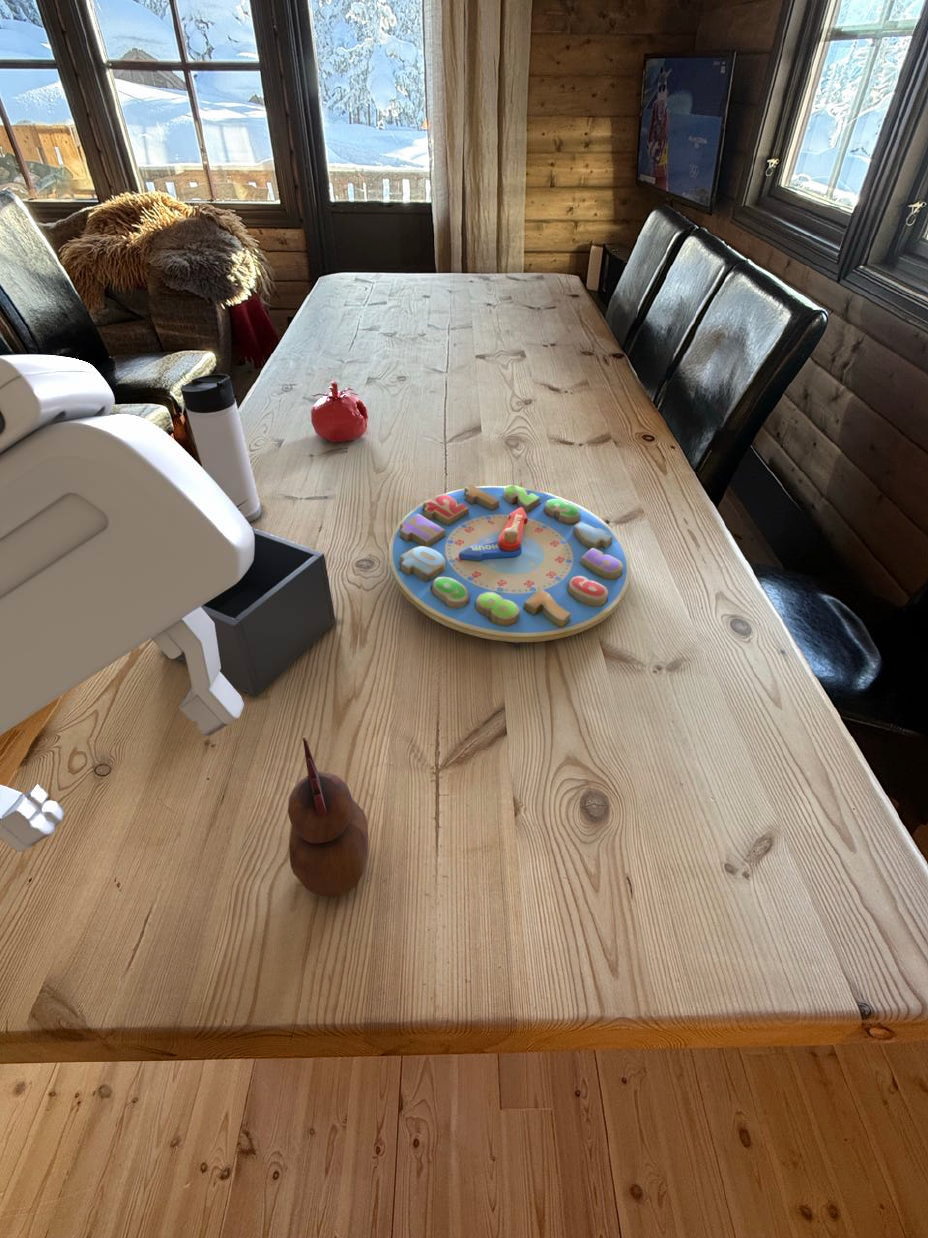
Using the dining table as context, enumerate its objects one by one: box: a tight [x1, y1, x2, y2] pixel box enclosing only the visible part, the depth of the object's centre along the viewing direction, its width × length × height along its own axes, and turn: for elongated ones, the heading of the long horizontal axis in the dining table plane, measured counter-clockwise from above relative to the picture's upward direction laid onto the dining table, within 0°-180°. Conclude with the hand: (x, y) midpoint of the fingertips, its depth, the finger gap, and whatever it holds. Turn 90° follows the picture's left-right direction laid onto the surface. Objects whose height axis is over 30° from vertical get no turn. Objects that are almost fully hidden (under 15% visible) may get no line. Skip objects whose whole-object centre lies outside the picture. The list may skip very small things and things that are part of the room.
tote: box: [175, 526, 337, 698], centre depth 72 cm, size 14×14×10 cm
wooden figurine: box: [287, 737, 369, 898], centre depth 49 cm, size 7×6×15 cm
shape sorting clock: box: [388, 484, 632, 645], centre depth 83 cm, size 31×30×6 cm
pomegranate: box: [310, 381, 369, 444], centre depth 112 cm, size 10×10×9 cm
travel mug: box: [180, 373, 262, 524], centre depth 89 cm, size 6×7×20 cm
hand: (135, 778), depth 27 cm, fingers open, 8 cm apart
